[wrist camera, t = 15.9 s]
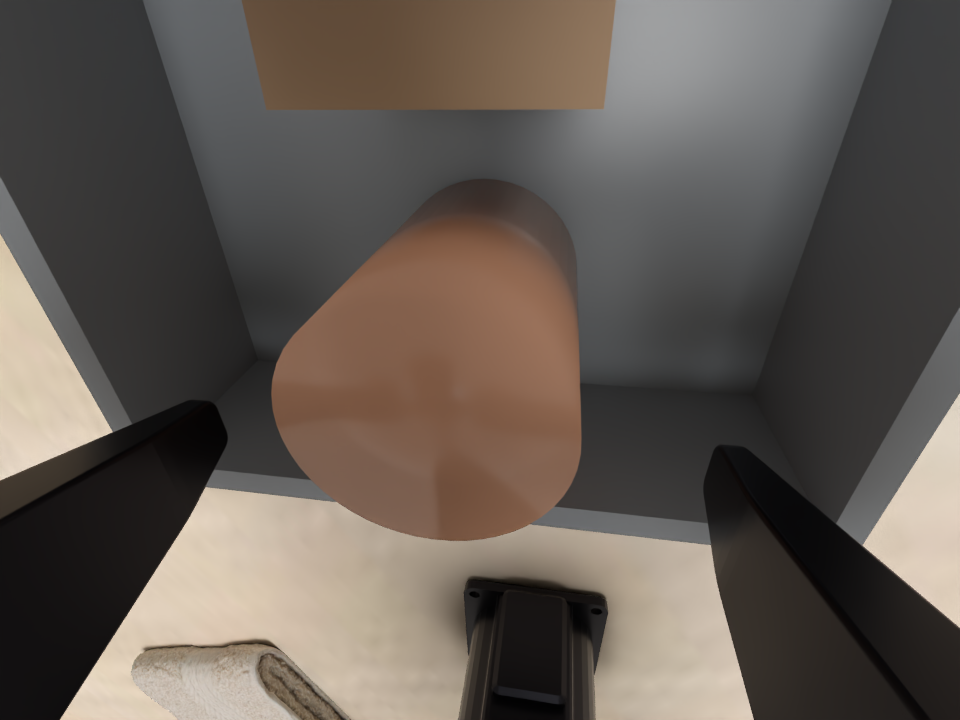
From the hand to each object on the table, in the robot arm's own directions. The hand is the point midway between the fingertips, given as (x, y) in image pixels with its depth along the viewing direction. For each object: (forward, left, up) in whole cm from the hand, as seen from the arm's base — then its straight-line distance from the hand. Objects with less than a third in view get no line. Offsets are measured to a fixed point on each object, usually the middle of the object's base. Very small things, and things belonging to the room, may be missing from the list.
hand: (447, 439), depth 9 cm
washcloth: (-34, +17, -8) cm, 39 cm away
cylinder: (+1, 0, -6) cm, 6 cm away
